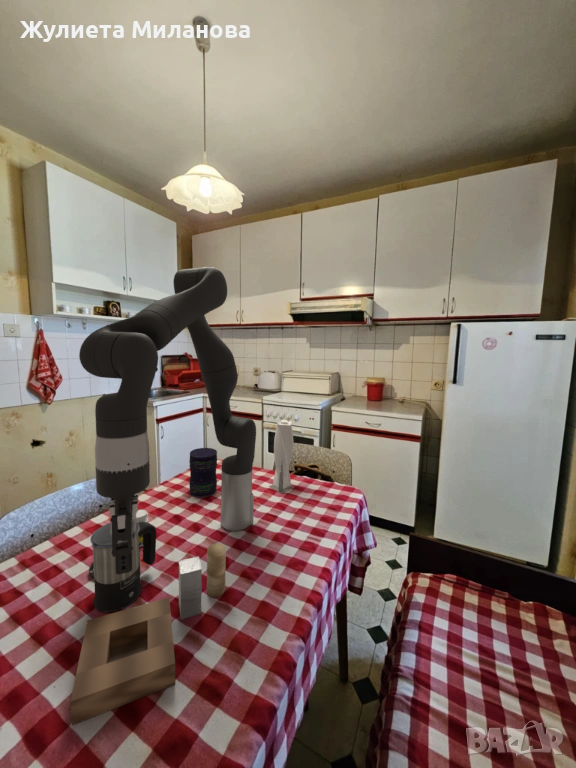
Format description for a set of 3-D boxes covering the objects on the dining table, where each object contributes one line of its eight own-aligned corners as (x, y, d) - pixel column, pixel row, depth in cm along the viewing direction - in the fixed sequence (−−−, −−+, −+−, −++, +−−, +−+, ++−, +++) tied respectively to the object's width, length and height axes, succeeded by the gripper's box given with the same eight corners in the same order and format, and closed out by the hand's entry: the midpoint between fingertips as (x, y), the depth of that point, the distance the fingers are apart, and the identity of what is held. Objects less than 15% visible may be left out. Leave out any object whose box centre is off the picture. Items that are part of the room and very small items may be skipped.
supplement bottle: (141, 549, 82) (140, 519, 81) (125, 546, 83) (124, 517, 82) (152, 538, 87) (152, 510, 85) (137, 535, 87) (136, 507, 86)
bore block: (169, 614, 63) (169, 597, 62) (175, 684, 50) (175, 663, 50) (88, 639, 57) (87, 620, 56) (71, 725, 44) (70, 701, 44)
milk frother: (121, 618, 62) (119, 549, 60) (54, 603, 64) (50, 537, 63) (162, 568, 76) (162, 511, 74) (105, 557, 78) (103, 502, 76)
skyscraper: (266, 485, 122) (268, 416, 118) (281, 480, 127) (284, 413, 124) (280, 493, 116) (283, 421, 112) (296, 487, 121) (299, 418, 118)
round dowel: (222, 581, 72) (223, 541, 71) (226, 593, 69) (227, 552, 67) (205, 585, 71) (205, 545, 69) (208, 599, 67) (209, 556, 66)
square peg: (198, 598, 67) (198, 556, 66) (201, 613, 64) (201, 568, 62) (178, 604, 65) (178, 561, 64) (180, 619, 62) (180, 574, 61)
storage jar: (213, 498, 110) (213, 457, 108) (185, 496, 110) (185, 456, 108) (219, 485, 120) (220, 448, 118) (194, 484, 120) (194, 447, 118)
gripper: (149, 474, 44) (151, 578, 46) (148, 443, 57) (150, 525, 59) (87, 482, 41) (92, 593, 43) (101, 447, 54) (104, 534, 56)
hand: (125, 554), depth 51 cm, fingers open, 8 cm apart
